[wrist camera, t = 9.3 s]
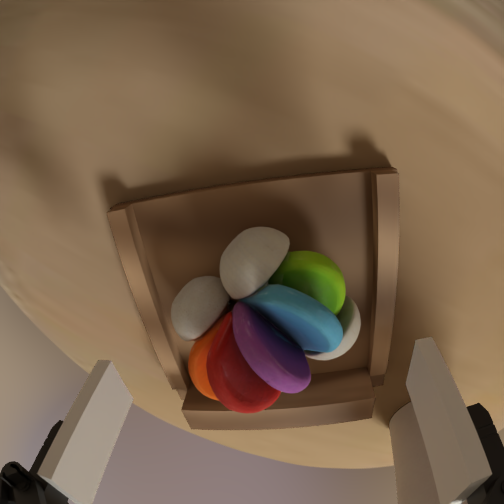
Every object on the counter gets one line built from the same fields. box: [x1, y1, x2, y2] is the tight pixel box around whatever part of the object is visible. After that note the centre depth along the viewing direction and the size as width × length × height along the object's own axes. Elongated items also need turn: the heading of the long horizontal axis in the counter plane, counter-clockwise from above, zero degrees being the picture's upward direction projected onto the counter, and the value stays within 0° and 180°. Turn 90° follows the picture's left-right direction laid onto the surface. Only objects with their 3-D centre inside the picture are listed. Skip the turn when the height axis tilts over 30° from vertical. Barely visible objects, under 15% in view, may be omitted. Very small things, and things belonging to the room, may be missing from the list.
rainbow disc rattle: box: [171, 227, 361, 413], centre depth 15 cm, size 8×10×7 cm
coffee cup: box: [389, 402, 468, 504], centre depth 17 cm, size 10×10×15 cm
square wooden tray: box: [107, 167, 399, 430], centre depth 18 cm, size 16×16×4 cm
